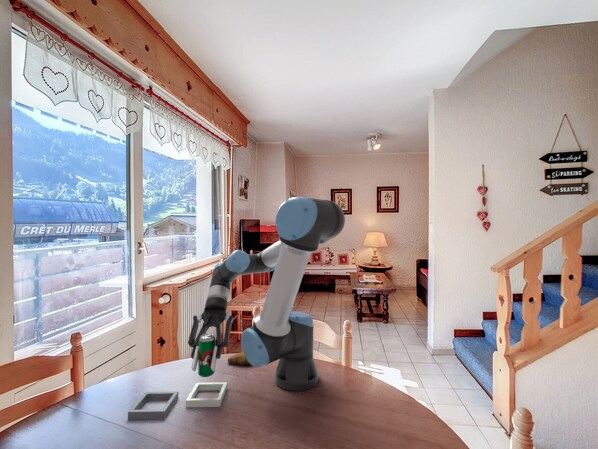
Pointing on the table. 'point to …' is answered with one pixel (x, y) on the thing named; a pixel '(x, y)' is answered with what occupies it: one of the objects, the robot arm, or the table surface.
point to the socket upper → (153, 413)
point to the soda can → (205, 354)
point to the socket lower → (206, 402)
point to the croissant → (238, 359)
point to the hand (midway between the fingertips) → (203, 369)
